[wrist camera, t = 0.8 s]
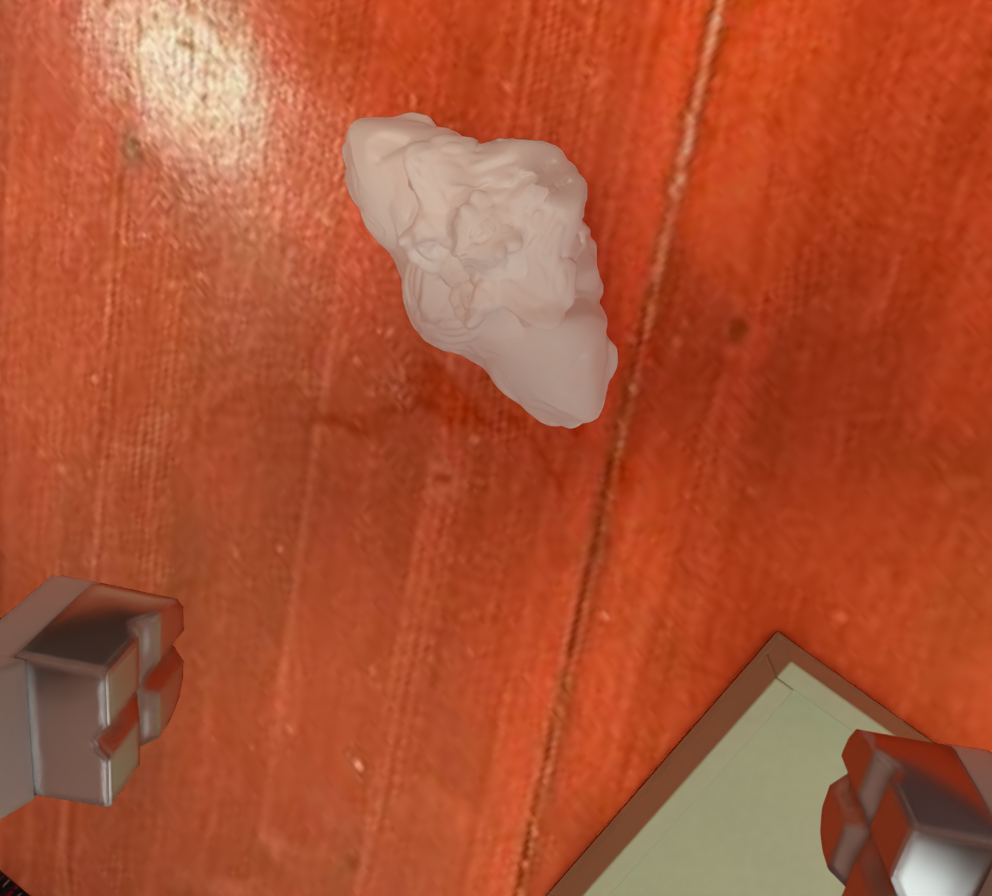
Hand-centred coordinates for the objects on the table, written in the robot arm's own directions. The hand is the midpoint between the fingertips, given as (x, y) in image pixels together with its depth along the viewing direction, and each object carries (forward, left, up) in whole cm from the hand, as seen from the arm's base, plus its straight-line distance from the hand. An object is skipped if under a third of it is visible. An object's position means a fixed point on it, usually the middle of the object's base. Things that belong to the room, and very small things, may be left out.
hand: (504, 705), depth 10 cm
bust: (-3, -5, -22) cm, 23 cm away
